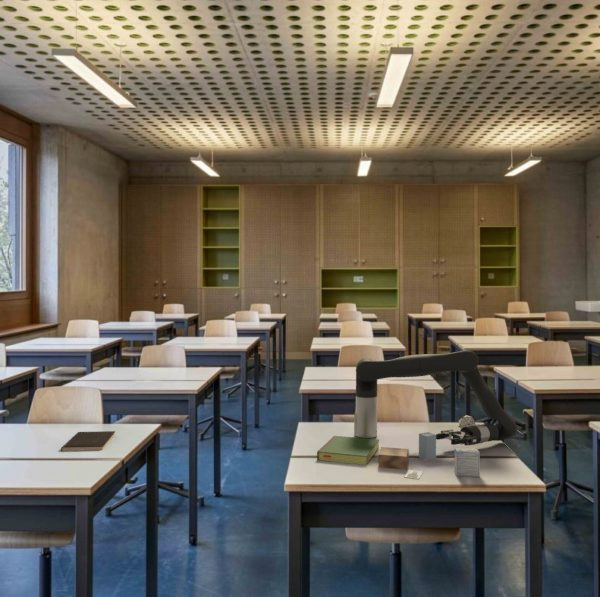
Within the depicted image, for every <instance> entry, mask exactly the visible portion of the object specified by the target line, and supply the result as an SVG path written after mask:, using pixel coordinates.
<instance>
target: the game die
mask: <svg viewBox="0 0 600 597" xmlns="http://www.w3.org/2000/svg"><path fill="white" fill-rule="evenodd" d="M474 417H475V415H473V416H471V415H468V414H467V413H465V415H461V418H459V419H456V421H457V422H458V428H460V430H461V429H462V428H463V427H464V426H470V425H477V424H476V420H475V419H474Z"/></svg>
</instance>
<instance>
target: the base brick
mask: <svg viewBox="0 0 600 597" xmlns="http://www.w3.org/2000/svg"><path fill="white" fill-rule="evenodd" d="M409 453H410V452H409V448H402V447H398V448H397V447H386V446H385V447H384V446H381V447H380V450H379V452H378V455H377V456H378V460H377V462H378V463H377V466H378V468H379V469H390V470H401V471H402V470H403V471H404V470H406V471H408V470H407V469H408V466H409V461H410V460H409Z"/></svg>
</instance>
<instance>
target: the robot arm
mask: <svg viewBox="0 0 600 597" xmlns="http://www.w3.org/2000/svg"><path fill="white" fill-rule="evenodd" d="M479 363H480V360H479V356H478V355H477V354H476V353H475V352H474V351H472V350H469V349H464V350H459V351H455V352H448V353H439V354H437V353H426V354H423V353H422V354H411V355H405V356H400V357H396V358H393V359H389V360H373V359H372V358H368V357H367V358H362V359H360V360H359V361H358V362H357V364H356V365H355V412H354V418H353V420H354V422H353V424H354V425H353V426H354V427H353V428H354V429H353V433H354V434H353V436H354V437H357V438H367V439H374V438H376V437H377V436H378V380H382V379H388V378H389V379H390V378H417V377H426V376H430V375H431V376H432V375H435V374H439V373H445V372H459V373H460V374H461V375H462V376H463V377H464V379H465V381H466V382H467V384H468V385H469V386H470V388H471V390H472V391H473V394H474V395H475V397H476V399H477V400H478V403H479V404H480V407H481V408H482V410H483V412H484V414H485V415H486V417H487V418H488V419H491V420H496V421H497V423H482V424H476V425H470V426H464V427H463V428H462V429H461V428H460V430H454V429H446V430H443V429H442V430H440V433H436V434H435V435H436V441H438V440H449V441H450V444H451V446H455V445H456V446H457V445H464V446H474V445H479V444H480V445H481V444H484V443H487V442H488V443H489V442H494V441H496V442H500V441H504V440H507V439H509V438H513V437H515V436H516V435H517V434H518V426H517V423H516V421H515V420H514V419H513V418H512V417H511V415H510V414H508V413H507V412H506V410H505V409H503V408H502V407H503V406H502V405H501V404H500V402H499V400H498V398H497V397H496V394H494V392H493V390H491V388H490V387H489V386H488V384H487V383H486V381H485V380H484V378H483V376H482V375H481V373H480V371H479V368H478V365H479Z"/></svg>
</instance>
